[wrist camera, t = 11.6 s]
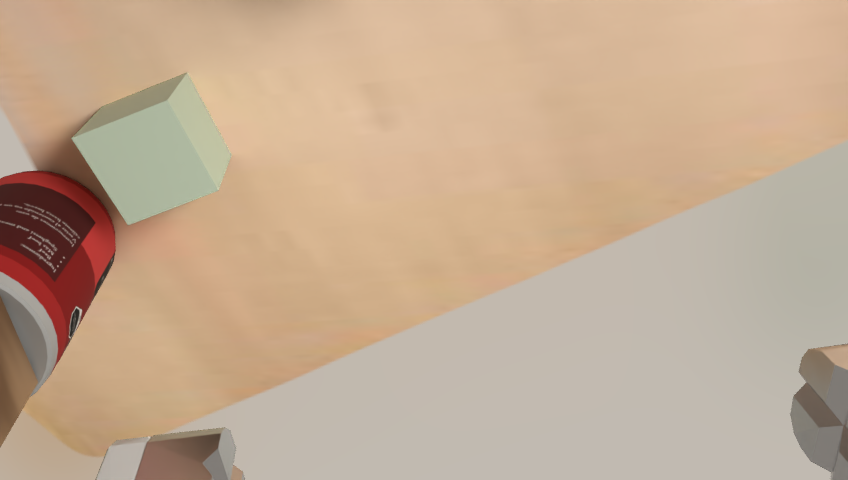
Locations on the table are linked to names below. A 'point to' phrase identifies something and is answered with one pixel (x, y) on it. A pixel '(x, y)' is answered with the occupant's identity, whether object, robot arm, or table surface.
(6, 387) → the walnut cube
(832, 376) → the robot arm
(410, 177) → the table surface
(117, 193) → the sage block
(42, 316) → the canned food
